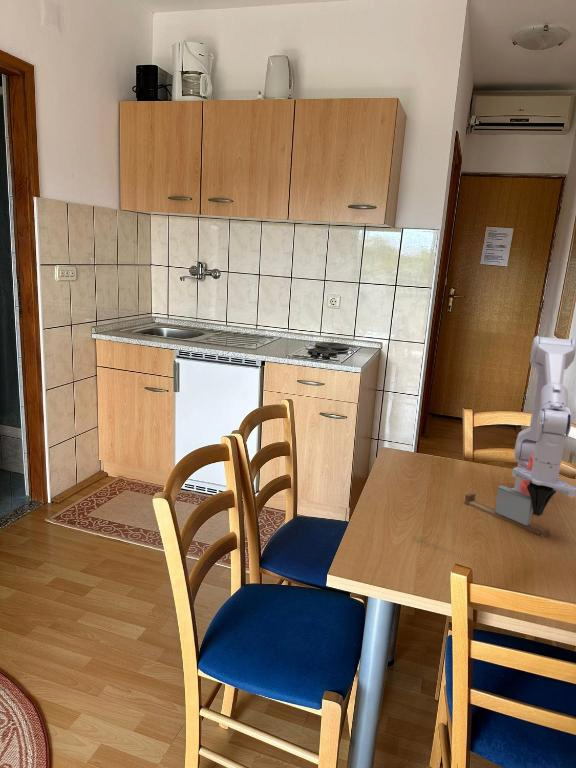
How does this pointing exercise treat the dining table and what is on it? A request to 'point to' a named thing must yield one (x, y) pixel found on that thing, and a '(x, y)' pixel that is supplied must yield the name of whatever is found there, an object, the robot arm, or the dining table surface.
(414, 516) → the dining table surface
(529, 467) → the figurine
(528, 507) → the screen
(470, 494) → the rail
